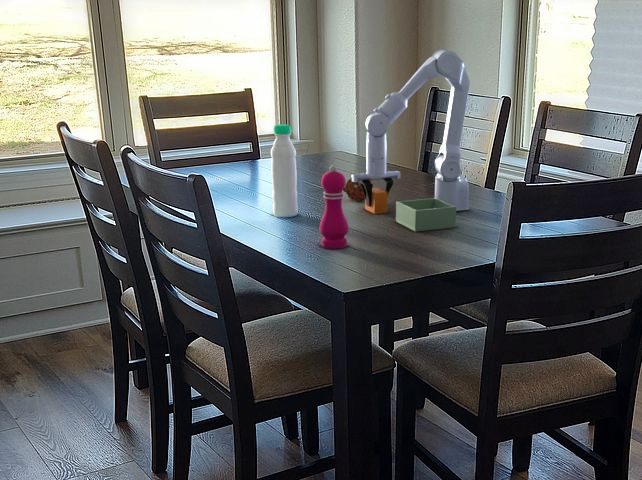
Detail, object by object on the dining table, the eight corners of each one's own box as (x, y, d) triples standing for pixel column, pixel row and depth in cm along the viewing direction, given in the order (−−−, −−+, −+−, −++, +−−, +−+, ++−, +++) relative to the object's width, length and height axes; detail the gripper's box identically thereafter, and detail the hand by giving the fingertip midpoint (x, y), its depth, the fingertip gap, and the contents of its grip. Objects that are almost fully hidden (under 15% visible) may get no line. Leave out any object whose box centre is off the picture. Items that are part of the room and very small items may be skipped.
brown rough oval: (360, 209, 256) (353, 206, 268) (382, 191, 256) (374, 189, 268) (343, 187, 254) (336, 185, 265) (365, 169, 254) (357, 167, 265)
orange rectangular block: (377, 207, 252) (377, 187, 250) (387, 212, 246) (387, 192, 244) (365, 208, 250) (365, 188, 248) (374, 214, 244) (374, 193, 242)
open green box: (434, 217, 241) (435, 197, 239) (455, 227, 230) (456, 206, 228) (395, 221, 236) (396, 201, 234) (415, 231, 226) (415, 210, 224)
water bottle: (301, 213, 245) (299, 123, 235) (291, 218, 239) (288, 127, 229) (279, 211, 247) (276, 122, 237) (269, 216, 241) (265, 126, 231)
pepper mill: (319, 242, 216) (317, 162, 208) (347, 241, 216) (347, 162, 209) (320, 249, 209) (318, 167, 201) (349, 249, 210) (349, 167, 202)
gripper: (393, 153, 248) (393, 200, 254) (347, 157, 243) (347, 204, 248) (404, 157, 242) (403, 205, 248) (356, 161, 237) (357, 209, 242)
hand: (376, 205), depth 247 cm, fingers closed on orange rectangular block, 4 cm apart
